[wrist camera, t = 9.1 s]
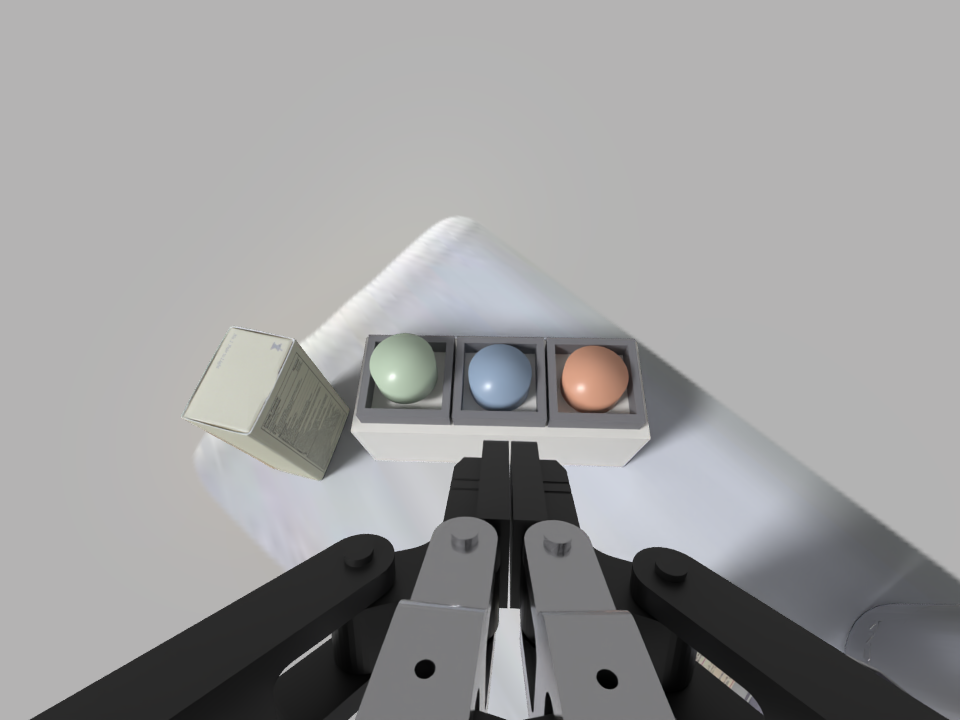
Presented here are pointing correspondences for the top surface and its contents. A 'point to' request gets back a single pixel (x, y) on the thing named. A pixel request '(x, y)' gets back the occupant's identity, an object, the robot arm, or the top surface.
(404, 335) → the sage button
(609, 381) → the terracotta button
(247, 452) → the skincare box
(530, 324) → the top surface
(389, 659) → the robot arm
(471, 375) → the slate blue button
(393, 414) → the button console
